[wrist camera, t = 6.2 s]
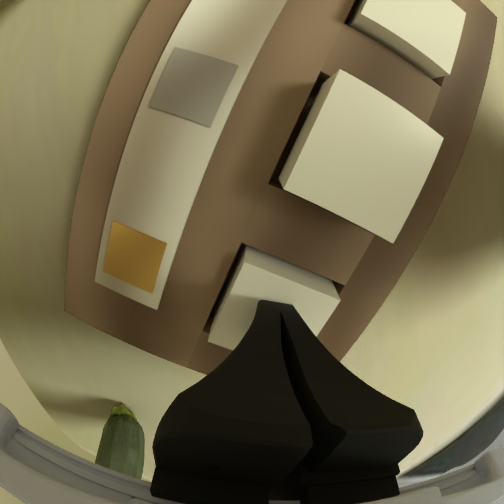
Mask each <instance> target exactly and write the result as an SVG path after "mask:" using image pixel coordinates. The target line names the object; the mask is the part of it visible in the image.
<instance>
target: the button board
mask: <svg viewBox="0 0 504 504" xmlns="http://www.w3.org/2000/svg"><path fill="white" fill-rule="evenodd" d="M451 1H452V2H454V3H455V4H456V5H457V6H459V7H460V8H461V9H462V10H463V11H464V12H466V16H465V21H464V25H463V30H462V34H461V38H460V41H459V45H458V49H457V52H456V56H455V59H454V63H453V66H452V69H451V73H450V75H446V76H442V77H438V78H434V79H430V78H429V77H428V76H427V75H425V74H424V73H423V72H421V71H420V70H419V69H417V68H416V67H414V66H413V65H412V64H410V63H409V62H407V61H406V60H405V59H403V58H402V57H400V56H399V55H397V54H396V53H394V52H393V51H391V50H389V49H388V48H386V47H385V46H383V45H381V44H380V43H378V42H377V41H375V40H373V39H371V38H370V37H368V36H366V35H364V34H363V33H361V32H359V31H357V30H355V29H353V28H352V27H350V26H348V23H349V21H350V18H351V16H352V14H353V12H354V10H355V8H356V6H357V4H358V2H359V0H150V2H149V4H148V5H147V7H146V9H145V11H144V12H143V14H142V16H141V18H140V19H139V21H138V23H137V25H136V27H135V29H134V31H133V32H132V34H131V36H130V38H129V40H128V42H127V44H126V46H125V49H124V51H123V53H122V55H121V57H120V59H119V61H118V64H117V66H116V68H115V71H114V73H113V75H112V78H111V80H110V83H109V85H108V88H107V90H106V93H105V96H104V98H103V101H102V104H101V107H100V110H99V112H98V115H97V118H96V121H95V125H94V128H93V131H92V134H91V138H90V141H89V145H88V148H87V152H86V156H85V159H84V163H83V167H82V172H81V176H80V180H79V185H78V190H77V195H76V200H75V205H74V211H73V217H72V224H71V230H70V238H69V246H68V255H67V266H66V280H65V302H64V311H66V312H67V313H69V314H71V315H73V316H74V317H76V318H78V319H80V320H82V321H84V322H86V323H88V324H89V325H91V326H93V327H95V328H97V329H99V330H101V331H103V332H105V333H107V334H109V335H111V336H113V337H115V338H118V339H120V340H122V341H124V342H126V343H128V344H131V345H133V346H135V347H137V348H140V349H142V350H144V351H146V352H149V353H151V354H154V355H156V356H158V357H161V358H163V359H166V360H168V361H171V362H173V363H176V364H179V365H181V366H184V367H187V368H189V369H192V370H195V371H198V372H200V373H203V374H206V375H208V374H209V373H210V372H212V371H213V370H214V369H215V368H217V367H218V366H219V365H220V364H221V363H222V362H223V361H224V360H225V359H226V358H227V357H228V356H229V355H230V354H231V352H232V351H233V350H230V349H227V348H224V347H222V346H219V345H216V344H213V343H210V342H208V338H209V334H210V329H211V325H212V321H213V317H214V313H215V309H216V307H217V305H218V303H219V301H220V298H221V296H222V294H223V292H224V289H225V287H226V285H227V283H228V280H229V278H230V276H231V274H232V272H233V269H234V267H235V265H236V263H237V260H238V258H239V256H240V254H241V252H242V249H243V247H244V245H245V244H247V245H249V246H251V247H254V248H256V249H259V250H261V251H264V252H266V253H268V254H271V255H273V256H276V257H278V258H280V259H283V260H285V261H288V262H290V263H293V264H295V265H297V266H300V267H302V268H305V269H307V270H309V271H312V272H314V273H317V274H319V275H321V276H324V277H326V278H329V279H331V280H332V282H333V284H334V286H335V289H336V291H337V293H338V295H339V298H340V300H341V301H340V302H339V304H338V305H337V307H336V308H335V310H334V311H333V313H332V314H331V316H330V317H329V319H328V320H327V322H326V323H325V325H324V326H323V328H322V329H321V331H320V332H319V334H318V335H317V336H316V337H317V338H318V339H319V341H320V342H321V343H322V344H323V345H324V346H325V347H326V349H327V350H328V351H329V352H330V353H331V354H332V355H333V356H334V357H335V358H336V359H337V360H338V361H339V362H340V361H341V360H342V358H343V357H344V356H345V354H346V353H347V352H348V351H349V349H350V348H351V347H352V346H353V344H354V343H355V342H356V340H357V339H358V338H359V336H360V335H361V334H362V332H363V331H364V330H365V328H366V327H367V325H368V324H369V323H370V321H371V320H372V318H373V317H374V316H375V314H376V313H377V311H378V310H379V308H380V307H381V305H382V304H383V302H384V301H385V300H386V298H387V296H388V295H389V293H390V292H391V290H392V289H393V287H394V286H395V284H396V283H397V281H398V279H399V278H400V276H401V275H402V273H403V271H404V270H405V268H406V266H407V265H408V263H409V261H410V260H411V258H412V256H413V255H414V253H415V251H416V249H417V248H418V246H419V244H420V242H421V240H422V239H423V237H424V235H425V233H426V231H427V229H428V227H429V225H430V224H431V222H432V220H433V218H434V216H435V214H436V212H437V210H438V208H439V206H440V204H441V202H442V199H443V197H444V195H445V193H446V191H447V189H448V186H449V184H450V182H451V180H452V177H453V175H454V173H455V170H456V168H457V166H458V163H459V161H460V158H461V156H462V153H463V151H464V148H465V145H466V143H467V140H468V137H469V134H470V132H471V129H472V126H473V123H474V120H475V117H476V113H477V110H478V107H479V104H480V100H481V97H482V93H483V89H484V86H485V82H486V78H487V73H488V69H489V64H490V60H491V55H492V49H493V44H494V37H495V31H496V23H497V17H496V16H495V15H494V14H493V13H492V12H491V11H490V10H489V9H488V8H487V7H486V6H485V5H484V4H483V3H482V2H481V1H480V0H451ZM339 69H341V70H343V71H345V72H347V73H348V74H350V75H352V76H354V77H356V78H357V79H359V80H361V81H363V82H364V83H366V84H368V85H369V86H371V87H373V88H374V89H376V90H378V91H379V92H381V93H382V94H384V95H386V96H387V97H389V98H390V99H392V100H393V101H395V102H396V103H398V104H399V105H401V106H402V107H404V108H405V109H406V110H408V111H409V112H411V113H412V114H413V115H415V116H416V117H417V118H419V119H420V120H421V121H423V122H424V123H425V124H427V125H428V126H429V127H431V128H432V129H433V130H434V131H436V132H437V133H438V134H439V135H441V136H442V137H443V138H444V139H443V141H442V144H441V146H440V149H439V151H438V154H437V156H436V158H435V161H434V163H433V165H432V167H431V170H430V172H429V174H428V176H427V179H426V181H425V183H424V185H423V187H422V189H421V191H420V193H419V195H418V197H417V199H416V202H415V204H414V206H413V207H412V209H411V211H410V213H409V215H408V217H407V219H406V221H405V223H404V225H403V227H402V229H401V230H400V232H399V234H398V236H397V238H396V240H395V241H394V243H391V242H389V241H387V240H385V239H384V238H382V237H380V236H378V235H376V234H374V233H372V232H370V231H368V230H367V229H365V228H363V227H361V226H359V225H357V224H355V223H353V222H351V221H349V220H347V219H345V218H343V217H341V216H339V215H337V214H335V213H333V212H331V211H329V210H327V209H325V208H323V207H321V206H319V205H317V204H315V203H312V202H310V201H308V200H306V199H304V198H302V197H300V196H297V195H295V194H293V193H291V192H289V191H287V190H284V189H283V187H282V185H281V183H280V180H279V176H280V174H281V171H282V169H283V167H284V165H285V163H286V161H287V159H288V156H289V154H290V152H291V150H292V148H293V146H294V144H295V141H296V139H297V137H298V135H299V133H300V131H301V129H302V126H303V124H304V122H305V120H306V118H307V116H308V114H309V112H310V109H311V107H312V105H313V103H314V101H315V99H316V97H317V95H318V92H319V90H320V88H321V86H322V84H323V83H324V82H325V81H326V80H327V79H329V78H330V77H331V76H332V75H333V74H335V73H336V72H337V71H338V70H339Z"/></svg>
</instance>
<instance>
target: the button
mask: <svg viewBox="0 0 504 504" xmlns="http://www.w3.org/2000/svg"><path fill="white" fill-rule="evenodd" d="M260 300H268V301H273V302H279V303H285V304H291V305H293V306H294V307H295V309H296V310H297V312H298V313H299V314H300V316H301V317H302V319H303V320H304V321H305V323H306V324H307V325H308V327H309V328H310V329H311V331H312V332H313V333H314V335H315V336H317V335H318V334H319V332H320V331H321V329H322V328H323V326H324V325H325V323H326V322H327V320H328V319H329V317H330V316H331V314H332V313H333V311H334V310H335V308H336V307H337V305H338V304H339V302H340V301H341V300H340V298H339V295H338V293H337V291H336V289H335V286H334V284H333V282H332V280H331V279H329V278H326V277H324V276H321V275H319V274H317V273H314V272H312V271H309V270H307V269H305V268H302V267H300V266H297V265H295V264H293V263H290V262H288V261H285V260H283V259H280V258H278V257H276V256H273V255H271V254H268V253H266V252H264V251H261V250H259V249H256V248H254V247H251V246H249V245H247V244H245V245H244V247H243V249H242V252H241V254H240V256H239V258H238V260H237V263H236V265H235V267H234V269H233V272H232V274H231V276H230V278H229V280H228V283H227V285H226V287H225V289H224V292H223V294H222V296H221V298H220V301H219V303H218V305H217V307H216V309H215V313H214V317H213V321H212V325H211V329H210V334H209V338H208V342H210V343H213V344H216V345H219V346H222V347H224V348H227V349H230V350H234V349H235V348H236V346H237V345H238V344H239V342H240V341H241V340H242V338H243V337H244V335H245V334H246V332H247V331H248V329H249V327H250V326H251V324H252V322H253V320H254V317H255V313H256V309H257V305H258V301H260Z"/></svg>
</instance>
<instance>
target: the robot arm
mask: <svg viewBox="0 0 504 504" xmlns="http://www.w3.org/2000/svg"><path fill="white" fill-rule="evenodd" d="M422 437H423V430H422V427H421V425H420V422H419V420H418V418H417V415H416V413H415V411H414V410H413V409H411V408H409V407H407V406H405V405H403V404H401V403H399V402H397V401H394V400H392V399H390V398H389V397H387V396H385V395H383V394H382V393H380V392H378V391H377V390H375V389H374V388H372V387H371V386H369V385H368V384H366V383H365V382H363V381H362V380H361V379H359V378H358V377H357V376H355V375H354V374H353V373H352V372H350V371H349V370H348V369H347V368H346V367H345V366H344V365H342V364H341V363H340V362H339V361H338V360H337V359H336V358H335V357H334V356H333V355H332V354H331V353H330V352H329V351H328V350H327V349H326V347H325V346H324V345H323V344H322V343H321V342H320V341H319V339H318V338H317V337H316V336H315V335H314V333H313V332H312V331H311V329H310V328H309V327H308V325H307V324H306V323H305V321H304V320H303V319H302V317H301V316H300V314H299V313H298V312H297V310H296V309H295V307H294V306H293V305H291V304H285V303H279V302H273V301H268V300H260V301H258V305H257V309H256V313H255V317H254V320H253V322H252V324H251V326H250V327H249V329H248V331H247V332H246V334H245V335H244V337H243V338H242V340H241V341H240V342H239V344H238V345H237V346H236V348H235V349H234V350H233V351H232V352H231V354H230V355H229V356H228V357H227V358H226V359H225V360H224V361H223V362H222V363H221V364H220V365H219V366H218V367H217V368H215V369H214V370H213V371H212V372H210V373H209V374H208V375H207V376H205V377H204V378H203V379H202V380H200V381H199V382H197V383H196V384H194V385H193V386H191V387H189V388H188V389H186V390H185V391H183V392H181V393H180V394H178V396H177V397H176V398H175V400H174V401H173V402H172V404H171V405H170V406H169V408H168V409H167V411H166V412H165V414H164V416H163V417H162V419H161V421H160V423H159V425H158V427H157V430H156V434H155V438H154V441H153V447H152V448H153V454H154V459H155V464H156V468H155V471H154V475H153V479H152V483H151V482H148V481H144V480H141V479H138V478H134V477H131V476H128V475H125V474H122V473H119V472H116V471H114V470H111V469H108V468H105V467H103V466H100V465H98V464H95V463H93V462H90V461H88V460H86V459H83V458H81V457H79V456H77V455H75V454H72V453H70V452H68V451H66V450H64V449H62V448H60V447H58V446H56V445H54V444H52V443H50V442H48V441H47V440H45V439H43V438H41V437H39V436H38V435H36V434H34V433H32V432H31V431H29V430H27V429H26V428H24V427H22V426H21V425H19V423H18V421H17V419H16V418H15V416H14V415H13V414H12V412H11V411H10V410H9V409H8V408H6V407H5V406H4V405H2V404H1V403H0V486H1V487H2V488H4V489H5V490H7V491H8V492H9V493H11V494H12V495H14V496H15V497H16V498H18V499H19V500H21V501H22V502H24V503H26V504H494V503H496V502H497V501H499V500H500V499H502V498H503V497H504V448H503V446H502V445H501V446H499V447H497V448H494V449H492V450H490V451H488V452H487V453H485V454H484V455H482V456H481V457H480V458H479V459H478V460H477V461H475V463H474V464H472V465H469V466H467V467H465V468H462V469H459V470H457V471H454V472H451V473H448V474H446V475H443V476H440V477H437V478H433V479H430V480H427V481H424V482H420V483H417V484H413V485H409V486H405V487H401V488H399V487H398V484H397V480H396V475H398V474H399V473H400V469H399V466H398V463H399V462H400V461H401V460H403V459H404V458H405V457H406V456H407V455H408V454H409V453H410V452H411V451H413V450H414V449H415V448H416V446H417V445H418V444H419V443H420V441H421V439H422Z"/></svg>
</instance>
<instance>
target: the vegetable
mask: <svg viewBox="0 0 504 504" xmlns="http://www.w3.org/2000/svg"><path fill="white" fill-rule="evenodd" d="M110 415H111V416H110V417H109V419H108V421H107V423H106V424H105V426H104V428H103V432H102V437H101V441H100V445H99V448H98V452H97V456H96V461H95V464H98V465H100V466H103V467H105V468H108V469H111V470H114V471H116V472H119V473H122V474H125V475H128V476H131V477H134V478H138V479H141V477H142V473H143V466H144V444H145V439H144V432H143V429H142V427H141V426H140V424H139V423H138V422H137V419H136V417H135V416H134V415H133V414H132V412H131V411H128V410H127V408H126V406H125V405H123V404H121V406H119V407H116V406H114V407H113V408H112V411H111V414H110Z"/></svg>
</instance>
